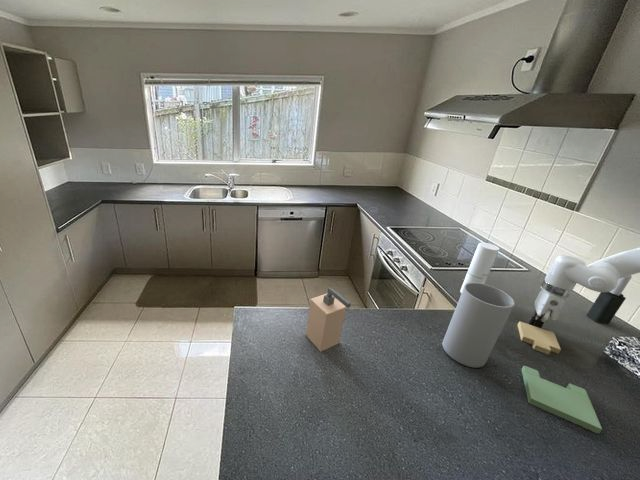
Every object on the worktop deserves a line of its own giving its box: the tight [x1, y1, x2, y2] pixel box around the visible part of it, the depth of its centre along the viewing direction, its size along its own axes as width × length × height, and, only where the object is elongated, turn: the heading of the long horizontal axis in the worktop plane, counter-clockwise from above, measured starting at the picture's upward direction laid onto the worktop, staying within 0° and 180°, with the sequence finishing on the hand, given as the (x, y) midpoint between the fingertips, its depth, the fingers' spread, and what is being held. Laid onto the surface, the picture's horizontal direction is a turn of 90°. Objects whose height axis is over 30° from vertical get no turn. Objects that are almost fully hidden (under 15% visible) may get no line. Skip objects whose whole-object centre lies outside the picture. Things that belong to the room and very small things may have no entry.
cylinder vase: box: [442, 283, 516, 368], centre depth 92 cm, size 12×12×25 cm
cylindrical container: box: [459, 241, 500, 295], centre depth 124 cm, size 7×7×25 cm
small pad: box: [517, 321, 562, 355], centre depth 103 cm, size 10×13×2 cm
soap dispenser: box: [305, 287, 352, 353], centre depth 94 cm, size 13×9×22 cm
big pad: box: [521, 365, 603, 435], centre depth 82 cm, size 14×14×2 cm
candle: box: [586, 275, 633, 325], centre depth 111 cm, size 5×5×25 cm
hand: (534, 326), depth 109 cm, fingers closed
